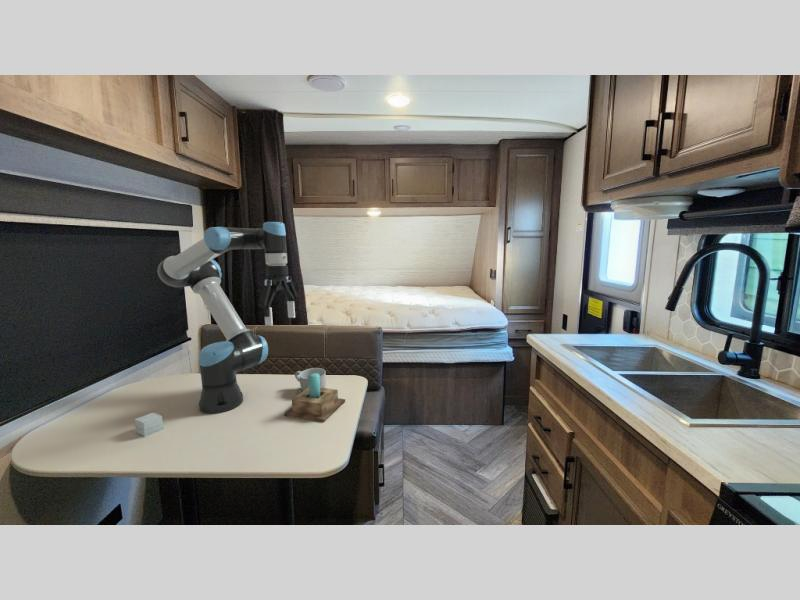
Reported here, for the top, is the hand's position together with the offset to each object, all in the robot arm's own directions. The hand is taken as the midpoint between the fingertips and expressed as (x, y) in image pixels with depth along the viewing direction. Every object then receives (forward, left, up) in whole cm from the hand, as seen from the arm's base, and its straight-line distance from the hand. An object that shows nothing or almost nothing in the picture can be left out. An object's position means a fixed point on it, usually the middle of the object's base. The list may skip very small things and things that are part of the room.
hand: (281, 321), depth 129 cm
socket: (+15, -3, -32) cm, 35 cm away
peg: (+15, -3, -31) cm, 34 cm away
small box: (-30, -32, -32) cm, 54 cm away
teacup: (+4, +11, -32) cm, 34 cm away
